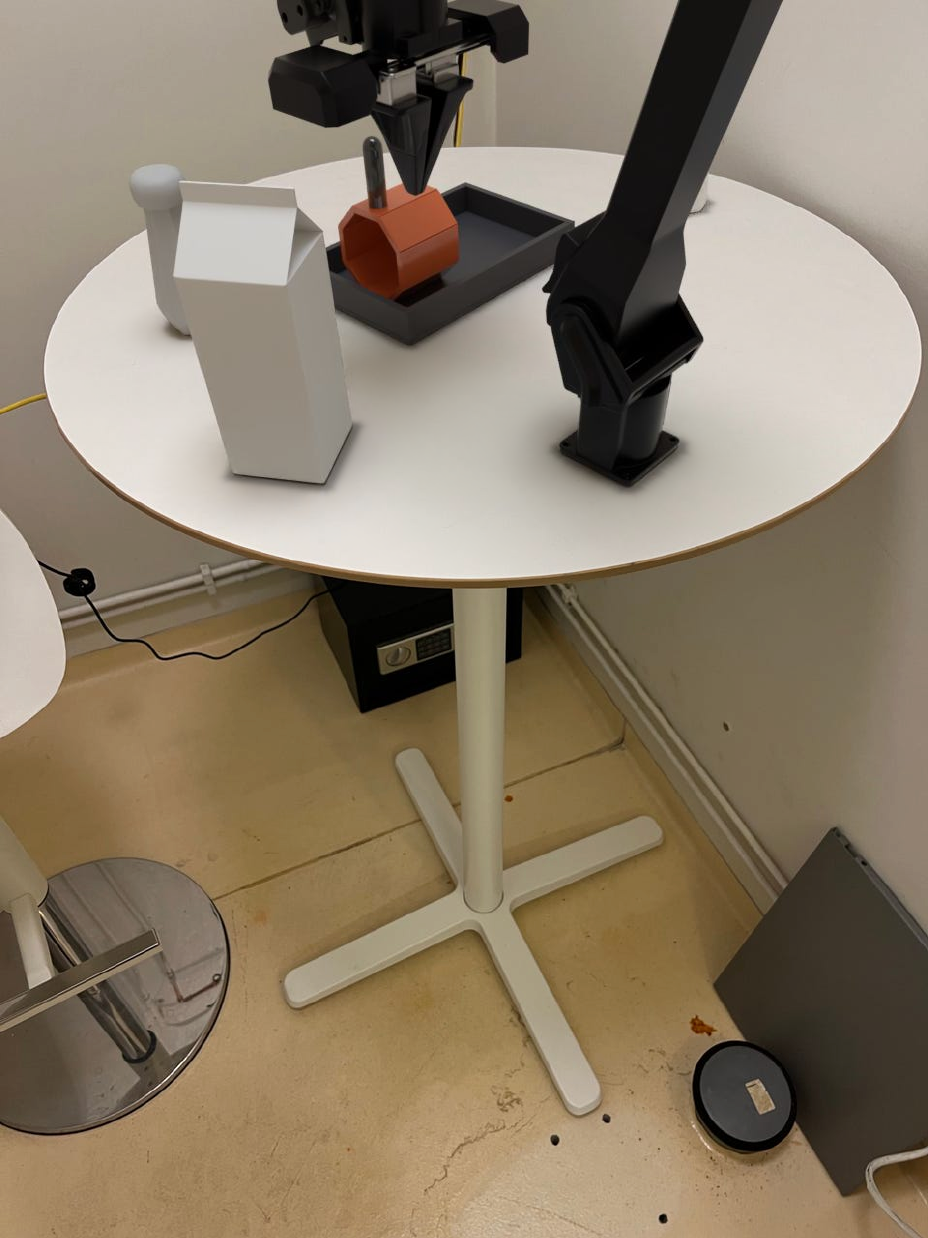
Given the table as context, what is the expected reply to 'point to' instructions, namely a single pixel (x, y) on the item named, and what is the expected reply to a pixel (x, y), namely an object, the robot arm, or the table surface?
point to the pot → (397, 234)
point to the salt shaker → (162, 233)
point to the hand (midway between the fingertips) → (415, 192)
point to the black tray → (460, 265)
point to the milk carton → (263, 328)
